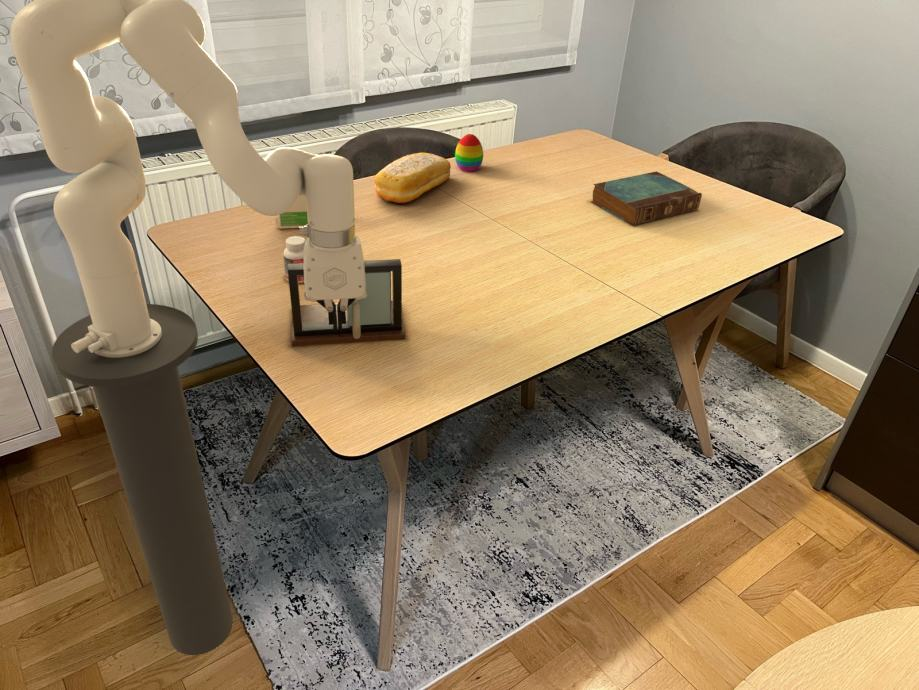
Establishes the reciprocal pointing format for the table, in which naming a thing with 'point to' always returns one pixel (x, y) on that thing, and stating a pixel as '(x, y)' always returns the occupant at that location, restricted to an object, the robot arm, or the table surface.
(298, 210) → the cosmetic box
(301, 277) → the pill bottle
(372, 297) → the pane
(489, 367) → the table surface
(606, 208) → the book
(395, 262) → the window frame
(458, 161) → the decorative egg
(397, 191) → the bread
